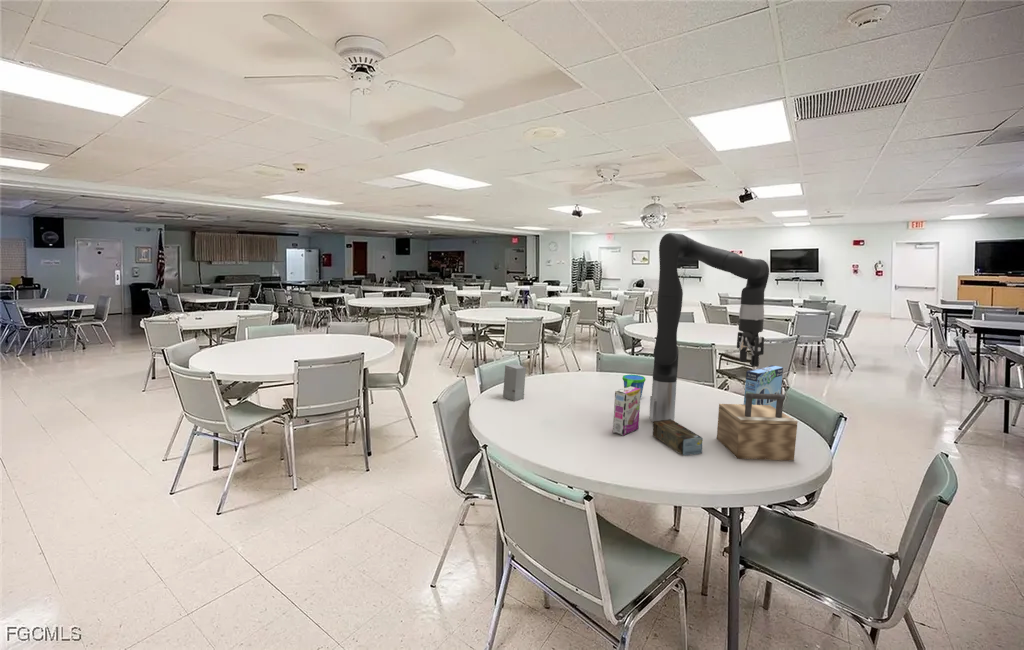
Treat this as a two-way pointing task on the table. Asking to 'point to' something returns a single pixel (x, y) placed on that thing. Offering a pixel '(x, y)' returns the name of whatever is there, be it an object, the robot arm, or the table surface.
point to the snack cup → (634, 381)
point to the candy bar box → (626, 410)
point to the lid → (759, 410)
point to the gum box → (764, 383)
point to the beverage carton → (677, 437)
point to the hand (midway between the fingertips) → (748, 364)
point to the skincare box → (514, 382)
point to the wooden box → (756, 439)
